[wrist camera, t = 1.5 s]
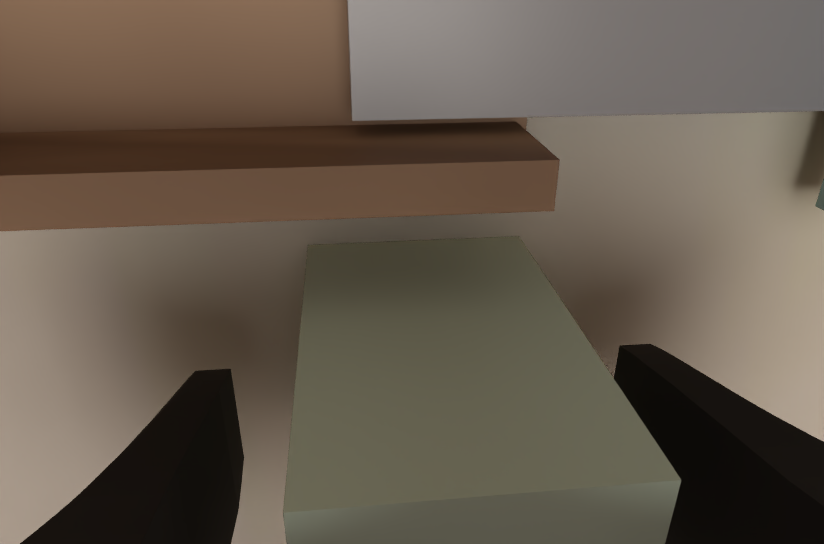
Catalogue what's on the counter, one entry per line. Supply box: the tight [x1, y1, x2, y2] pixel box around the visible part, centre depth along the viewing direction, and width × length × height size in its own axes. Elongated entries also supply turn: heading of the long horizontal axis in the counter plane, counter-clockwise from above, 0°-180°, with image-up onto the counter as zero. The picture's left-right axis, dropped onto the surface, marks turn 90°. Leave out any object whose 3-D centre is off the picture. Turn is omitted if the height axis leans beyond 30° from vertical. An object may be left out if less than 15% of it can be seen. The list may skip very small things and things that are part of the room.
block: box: [283, 236, 681, 544], centre depth 11 cm, size 4×4×7 cm
